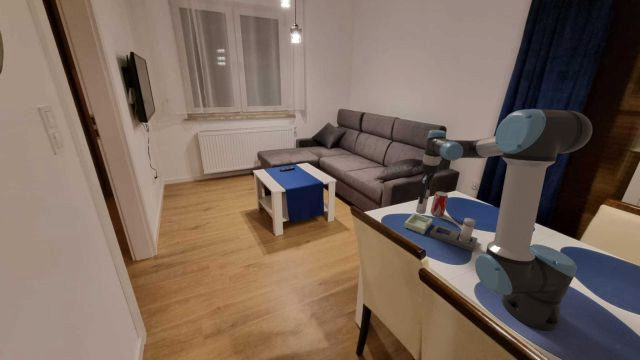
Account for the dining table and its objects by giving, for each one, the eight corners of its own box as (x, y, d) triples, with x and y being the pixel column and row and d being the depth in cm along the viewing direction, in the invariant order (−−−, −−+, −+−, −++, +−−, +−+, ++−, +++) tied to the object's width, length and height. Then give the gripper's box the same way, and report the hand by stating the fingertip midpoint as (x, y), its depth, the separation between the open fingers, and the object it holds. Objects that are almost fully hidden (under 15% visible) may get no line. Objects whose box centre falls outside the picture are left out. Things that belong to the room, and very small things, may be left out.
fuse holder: (472, 251, 115) (480, 228, 111) (429, 235, 126) (434, 214, 122) (476, 241, 123) (483, 219, 118) (435, 227, 134) (440, 206, 129)
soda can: (427, 212, 148) (431, 191, 144) (436, 210, 151) (441, 190, 147) (437, 218, 143) (442, 197, 138) (446, 216, 145) (451, 195, 141)
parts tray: (423, 234, 127) (424, 229, 126) (403, 227, 132) (404, 222, 131) (431, 224, 136) (432, 219, 135) (412, 217, 142) (413, 212, 141)
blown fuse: (423, 214, 129) (428, 193, 124) (414, 211, 131) (418, 190, 127) (426, 211, 132) (431, 190, 127) (417, 208, 135) (421, 187, 130)
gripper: (433, 169, 113) (423, 216, 122) (444, 161, 126) (434, 203, 135) (416, 165, 118) (407, 210, 126) (428, 157, 130) (419, 199, 139)
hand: (421, 207), depth 131 cm, fingers closed on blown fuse, 4 cm apart
